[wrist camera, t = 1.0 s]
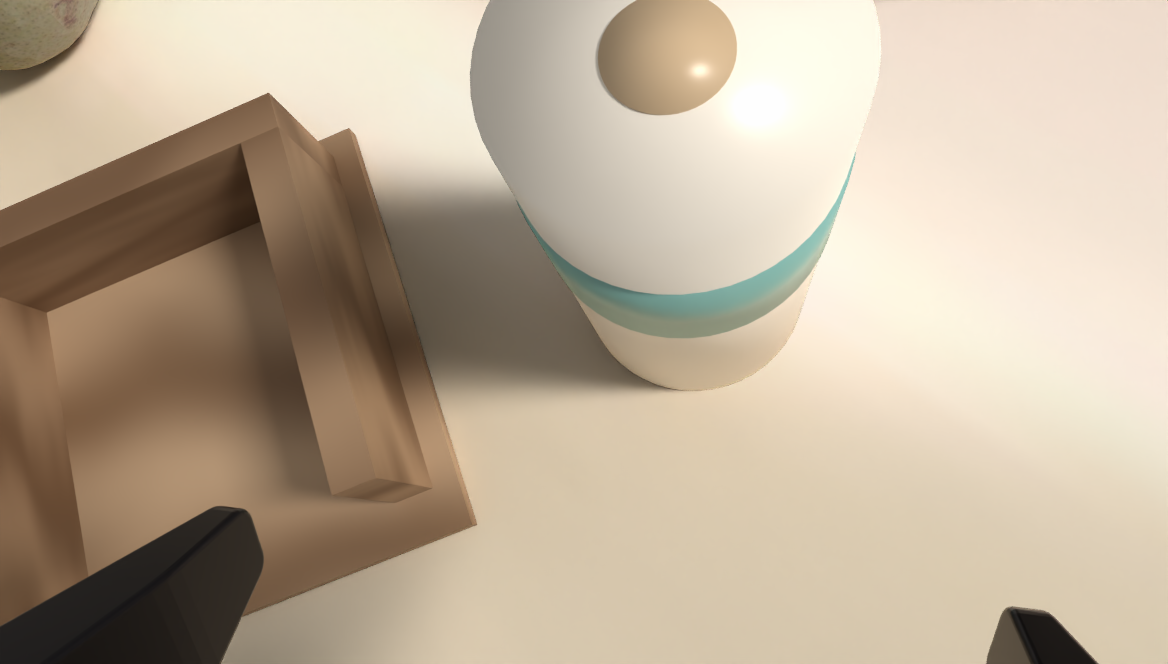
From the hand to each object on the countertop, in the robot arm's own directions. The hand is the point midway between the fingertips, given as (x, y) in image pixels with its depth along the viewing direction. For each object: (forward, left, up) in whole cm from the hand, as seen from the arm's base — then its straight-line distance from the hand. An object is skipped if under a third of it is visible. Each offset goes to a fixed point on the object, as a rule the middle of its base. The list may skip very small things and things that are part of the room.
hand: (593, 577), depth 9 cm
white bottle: (+6, +5, -13) cm, 16 cm away
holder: (-7, +14, -13) cm, 20 cm away
